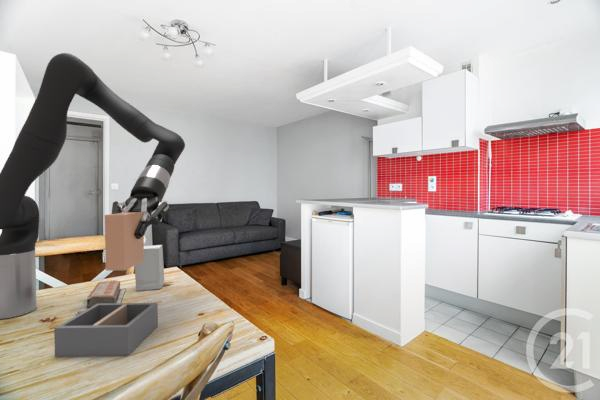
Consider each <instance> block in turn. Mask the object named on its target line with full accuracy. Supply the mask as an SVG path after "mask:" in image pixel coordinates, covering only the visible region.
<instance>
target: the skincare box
mask: <svg viewBox="0 0 600 400" xmlns="http://www.w3.org/2000/svg"><path fill="white" fill-rule="evenodd" d="M163 251H164V250H163V244H156V245H144V261H143V262H141V263H139V264H137V265H135V266H134V275H135V276H134V277H135V292H139V291H150V290H151V291H152V290H160V289H162V287H164V285H165V282H166V281H165V271H164V270H165V269H164V254H163V253H164V252H163Z"/></svg>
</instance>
